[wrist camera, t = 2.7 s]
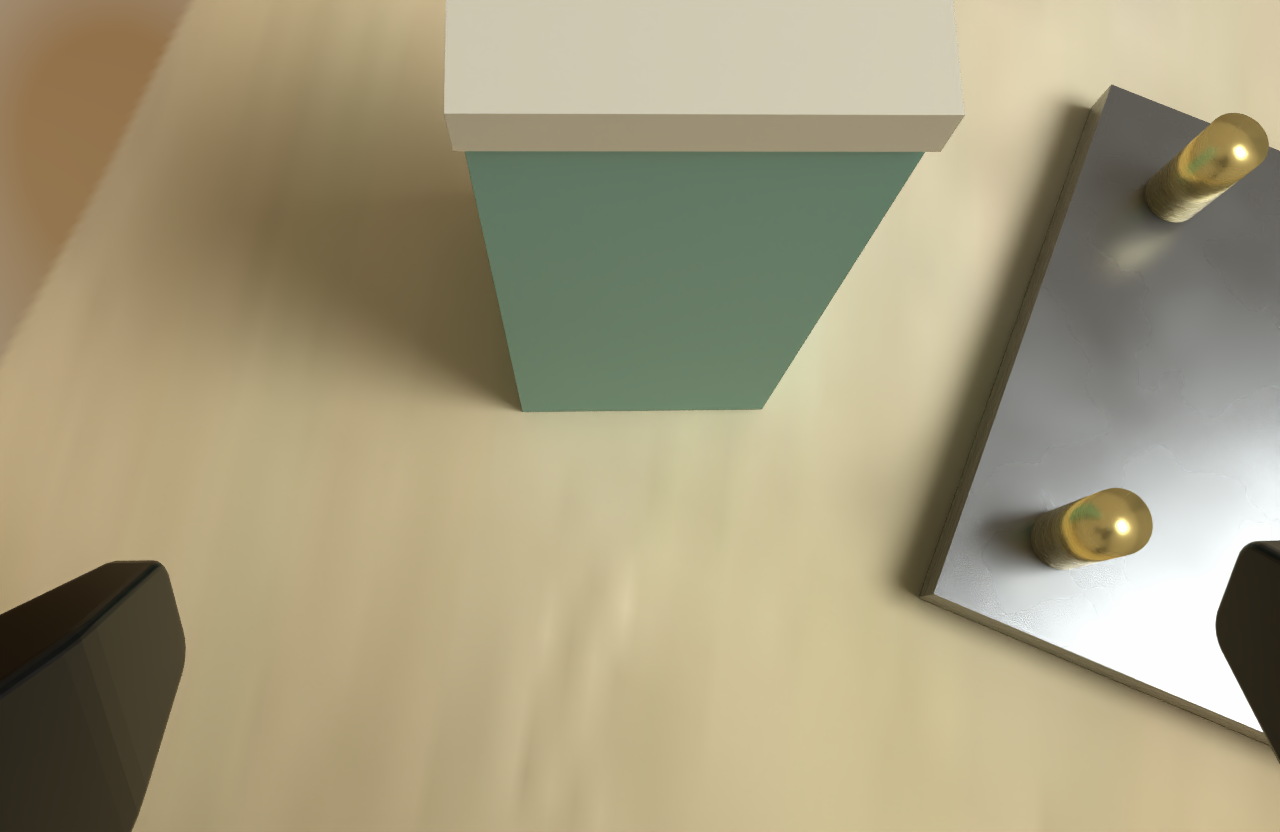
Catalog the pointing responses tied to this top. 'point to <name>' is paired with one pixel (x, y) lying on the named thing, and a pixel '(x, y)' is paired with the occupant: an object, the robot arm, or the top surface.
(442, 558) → the top surface
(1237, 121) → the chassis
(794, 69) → the tea tin
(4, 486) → the top surface
